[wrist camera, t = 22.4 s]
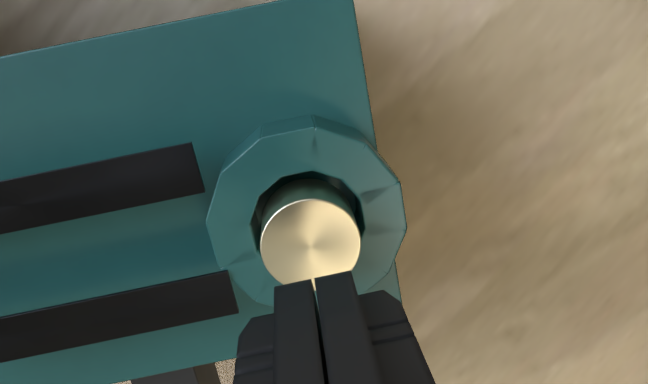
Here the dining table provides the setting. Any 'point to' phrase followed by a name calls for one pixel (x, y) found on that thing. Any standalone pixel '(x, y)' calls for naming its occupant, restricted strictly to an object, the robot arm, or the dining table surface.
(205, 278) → the toaster trim
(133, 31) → the toaster
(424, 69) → the dining table surface
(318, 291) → the robot arm
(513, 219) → the dining table surface
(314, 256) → the button
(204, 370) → the slider
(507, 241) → the dining table surface
